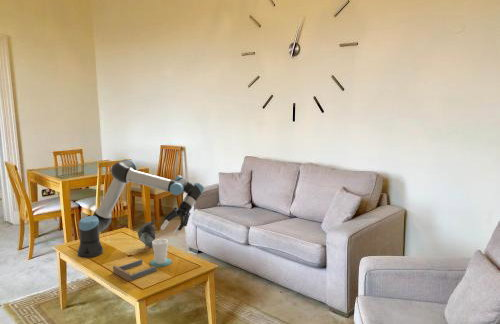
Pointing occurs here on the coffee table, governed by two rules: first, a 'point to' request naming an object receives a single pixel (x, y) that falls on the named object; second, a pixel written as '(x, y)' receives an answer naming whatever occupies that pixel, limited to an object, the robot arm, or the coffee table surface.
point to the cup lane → (126, 275)
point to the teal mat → (168, 262)
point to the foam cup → (160, 250)
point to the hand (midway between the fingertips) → (168, 231)
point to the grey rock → (147, 234)
